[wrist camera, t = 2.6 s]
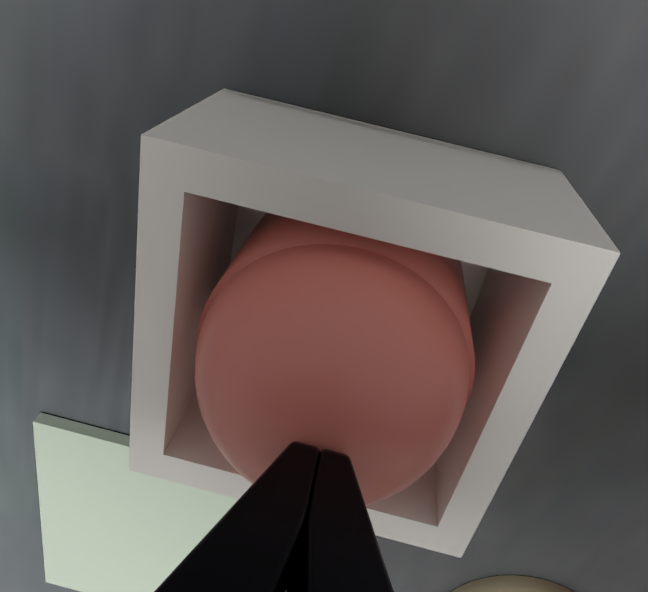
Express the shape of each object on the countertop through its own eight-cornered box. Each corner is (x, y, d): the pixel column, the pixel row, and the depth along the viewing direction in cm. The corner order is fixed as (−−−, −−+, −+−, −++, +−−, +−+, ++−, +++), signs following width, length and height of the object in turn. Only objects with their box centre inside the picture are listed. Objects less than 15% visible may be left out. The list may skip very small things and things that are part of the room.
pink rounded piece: (497, 213, 11) (549, 374, 7) (425, 399, 14) (428, 610, 9) (257, 154, 12) (148, 272, 7) (229, 349, 14) (135, 531, 9)
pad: (299, 480, 17) (296, 490, 16) (260, 628, 21) (258, 639, 20) (40, 412, 17) (32, 421, 17) (52, 572, 21) (45, 582, 21)
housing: (560, 170, 11) (621, 253, 8) (451, 423, 15) (461, 558, 11) (224, 88, 12) (140, 135, 8) (195, 357, 15) (128, 469, 12)
